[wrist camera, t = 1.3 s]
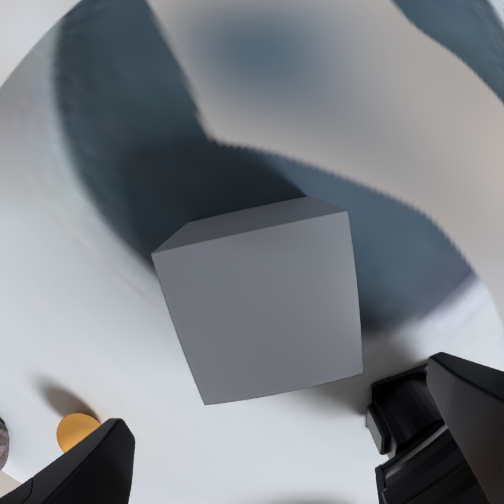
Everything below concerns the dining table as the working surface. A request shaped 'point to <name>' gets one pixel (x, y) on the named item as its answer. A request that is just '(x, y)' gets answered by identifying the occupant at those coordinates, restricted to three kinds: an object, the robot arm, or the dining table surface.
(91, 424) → the ball
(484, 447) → the robot arm
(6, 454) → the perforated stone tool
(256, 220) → the grey cube
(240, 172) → the dining table surface
